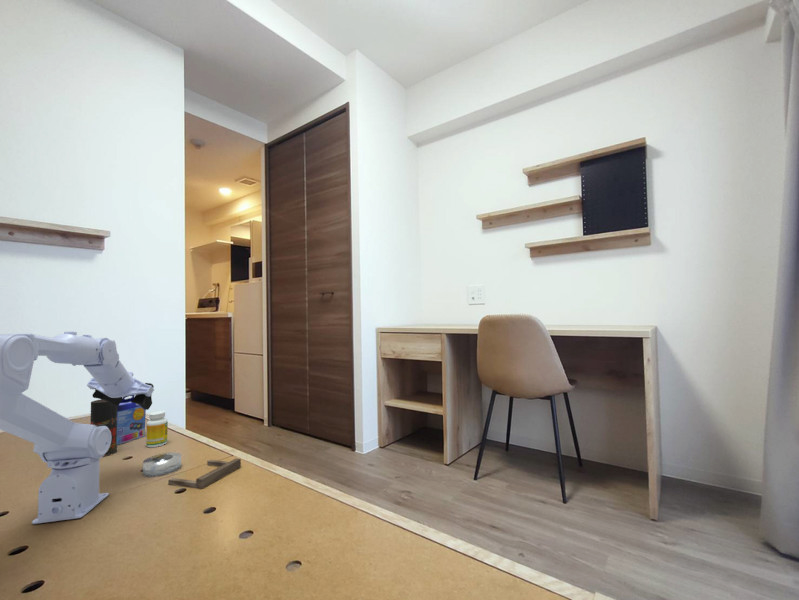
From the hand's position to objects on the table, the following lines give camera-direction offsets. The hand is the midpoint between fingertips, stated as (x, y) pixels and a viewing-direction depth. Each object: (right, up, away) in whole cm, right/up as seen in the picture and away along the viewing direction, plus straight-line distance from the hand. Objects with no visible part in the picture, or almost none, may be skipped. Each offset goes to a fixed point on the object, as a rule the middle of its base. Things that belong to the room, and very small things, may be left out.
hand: (134, 404), depth 94 cm
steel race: (+10, -15, -4) cm, 19 cm away
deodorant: (-15, -17, +8) cm, 24 cm away
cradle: (+23, -15, -8) cm, 29 cm away
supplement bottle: (-4, -17, +15) cm, 23 cm away
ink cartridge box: (-18, -17, +20) cm, 32 cm away
